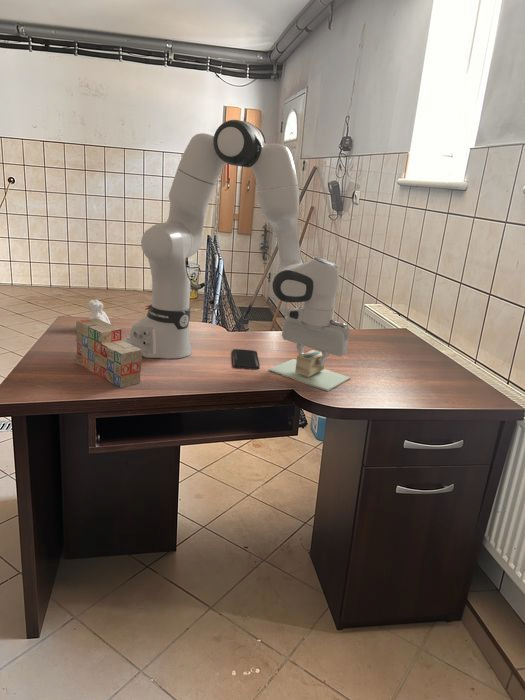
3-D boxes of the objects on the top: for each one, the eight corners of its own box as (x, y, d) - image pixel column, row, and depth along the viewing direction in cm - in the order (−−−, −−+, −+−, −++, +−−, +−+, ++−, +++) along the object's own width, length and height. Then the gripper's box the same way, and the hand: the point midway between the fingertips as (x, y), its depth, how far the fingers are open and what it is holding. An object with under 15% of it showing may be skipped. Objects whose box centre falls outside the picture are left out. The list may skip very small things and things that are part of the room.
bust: (99, 330, 177) (78, 304, 173) (117, 318, 178) (96, 292, 173) (98, 341, 166) (75, 314, 162) (117, 328, 167) (95, 301, 162)
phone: (256, 350, 166) (260, 367, 152) (256, 354, 166) (259, 370, 152) (232, 348, 165) (233, 365, 151) (231, 352, 165) (233, 368, 151)
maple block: (310, 365, 156) (312, 349, 155) (323, 369, 154) (326, 353, 152) (295, 372, 149) (297, 355, 148) (308, 376, 147) (310, 360, 145)
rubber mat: (268, 370, 152) (268, 369, 152) (293, 360, 163) (293, 358, 163) (327, 391, 141) (328, 389, 141) (350, 378, 152) (350, 377, 152)
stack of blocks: (141, 383, 134) (142, 338, 130) (120, 388, 129) (120, 342, 125) (96, 358, 147) (96, 317, 143) (76, 362, 142) (75, 320, 138)
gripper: (355, 323, 143) (347, 369, 148) (293, 306, 154) (287, 350, 158) (345, 327, 138) (337, 374, 143) (282, 309, 149) (276, 354, 153)
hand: (310, 361), depth 151 cm, fingers open, 5 cm apart
